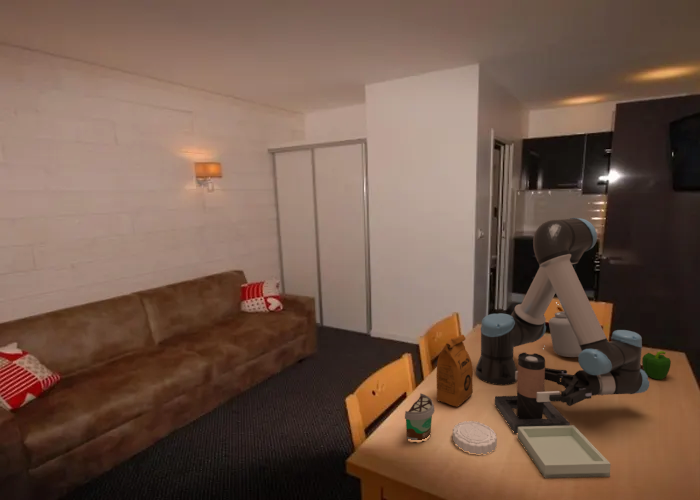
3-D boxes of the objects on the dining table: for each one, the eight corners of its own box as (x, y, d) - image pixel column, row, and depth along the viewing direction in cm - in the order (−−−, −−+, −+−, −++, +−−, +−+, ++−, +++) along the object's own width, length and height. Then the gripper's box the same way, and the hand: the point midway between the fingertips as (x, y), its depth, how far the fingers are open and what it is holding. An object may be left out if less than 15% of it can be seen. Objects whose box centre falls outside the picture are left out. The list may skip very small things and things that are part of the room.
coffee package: (477, 397, 134) (478, 336, 131) (457, 411, 126) (457, 347, 123) (452, 387, 142) (453, 329, 139) (432, 400, 134) (432, 339, 131)
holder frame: (494, 404, 129) (494, 396, 129) (542, 403, 129) (543, 395, 129) (514, 433, 114) (514, 424, 113) (569, 432, 113) (569, 423, 113)
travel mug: (532, 427, 116) (534, 364, 114) (510, 415, 123) (512, 355, 120) (548, 420, 120) (551, 358, 117) (527, 408, 127) (529, 350, 124)
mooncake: (443, 438, 113) (443, 427, 113) (473, 425, 119) (473, 414, 118) (475, 462, 103) (475, 449, 102) (505, 446, 108) (506, 435, 108)
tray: (517, 438, 112) (517, 426, 111) (573, 436, 111) (573, 425, 111) (544, 478, 96) (545, 465, 95) (609, 476, 96) (610, 463, 95)
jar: (536, 351, 171) (538, 296, 168) (555, 343, 179) (558, 290, 175) (580, 366, 155) (583, 305, 152) (599, 357, 163) (602, 299, 159)
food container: (425, 451, 107) (425, 417, 106) (405, 444, 111) (404, 411, 109) (440, 428, 118) (440, 397, 116) (421, 422, 121) (421, 392, 120)
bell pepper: (643, 379, 143) (645, 353, 142) (639, 370, 150) (641, 345, 149) (672, 383, 139) (674, 357, 138) (666, 374, 146) (668, 349, 145)
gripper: (621, 416, 108) (547, 420, 108) (568, 375, 133) (507, 378, 132) (623, 391, 107) (548, 395, 107) (569, 354, 132) (508, 357, 131)
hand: (525, 385), depth 119 cm, fingers open, 13 cm apart
